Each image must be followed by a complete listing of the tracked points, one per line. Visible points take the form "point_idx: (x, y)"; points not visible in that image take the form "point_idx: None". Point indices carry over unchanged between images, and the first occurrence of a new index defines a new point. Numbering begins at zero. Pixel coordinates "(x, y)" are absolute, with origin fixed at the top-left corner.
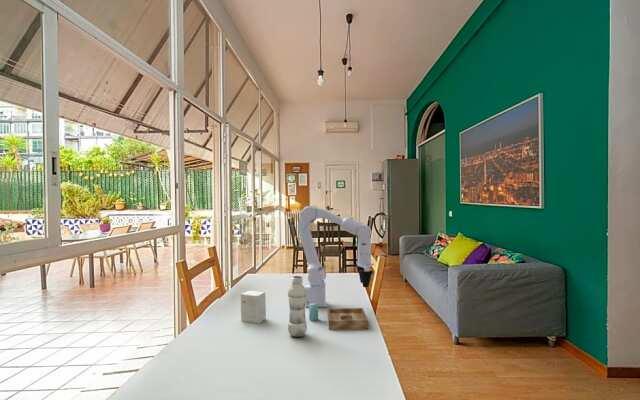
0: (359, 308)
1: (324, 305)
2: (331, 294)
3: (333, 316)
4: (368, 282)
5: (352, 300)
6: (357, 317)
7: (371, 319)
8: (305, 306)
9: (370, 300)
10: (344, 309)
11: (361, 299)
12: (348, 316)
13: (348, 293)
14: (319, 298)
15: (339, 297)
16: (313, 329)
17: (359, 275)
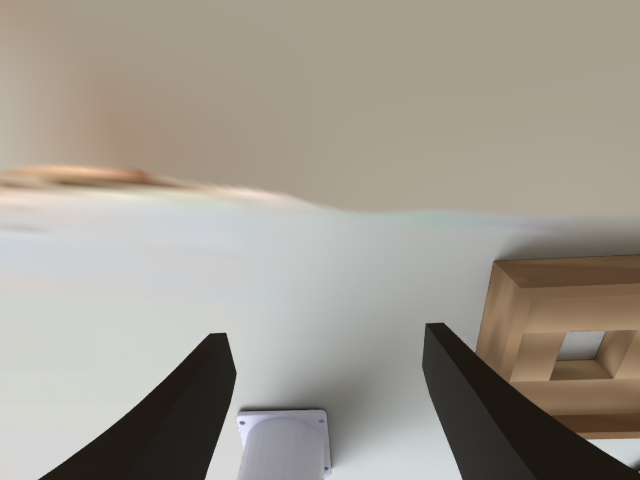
0: (524, 306)
1: (317, 420)
2: (87, 389)
3: (550, 404)
4: (478, 368)
5: (180, 296)
6: (610, 309)
7: (565, 217)
8: (330, 473)
9: (150, 183)
10: (508, 376)
11: (142, 242)
12: (557, 344)
13: (25, 310)
14: (322, 474)
15: (135, 356)
16: (608, 440)
17: (199, 476)
